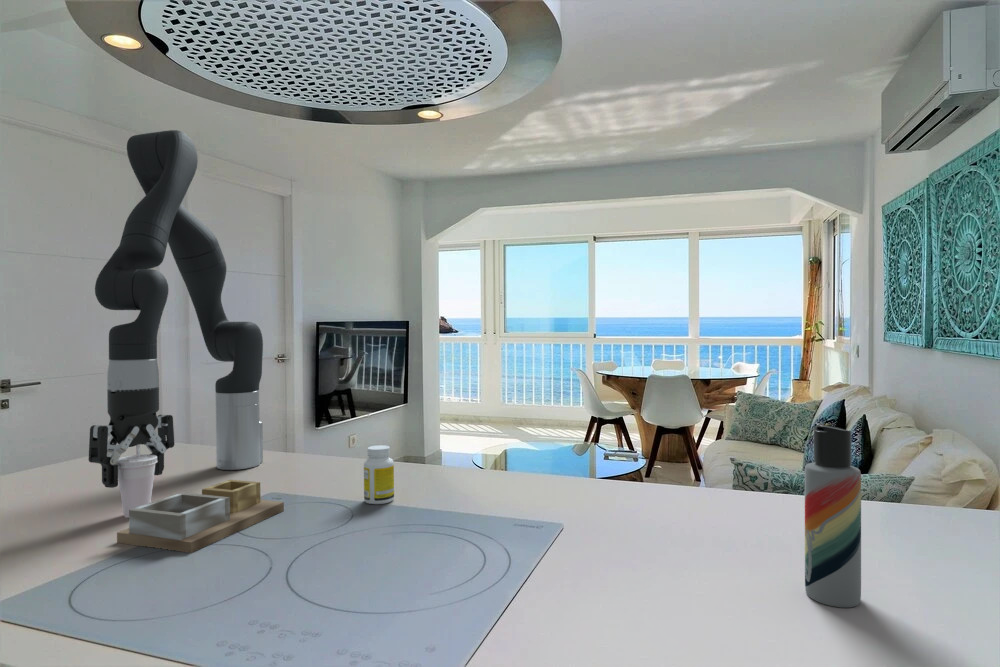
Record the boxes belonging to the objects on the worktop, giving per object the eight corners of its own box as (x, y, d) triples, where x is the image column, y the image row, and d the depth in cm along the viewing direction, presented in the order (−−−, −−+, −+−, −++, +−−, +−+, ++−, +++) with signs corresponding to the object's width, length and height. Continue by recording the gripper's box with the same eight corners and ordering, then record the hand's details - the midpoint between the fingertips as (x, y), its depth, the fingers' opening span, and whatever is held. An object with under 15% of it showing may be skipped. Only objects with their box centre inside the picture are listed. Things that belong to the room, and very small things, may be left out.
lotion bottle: (794, 587, 71) (794, 421, 71) (839, 585, 72) (839, 420, 72) (824, 609, 66) (824, 430, 65) (873, 607, 66) (872, 428, 66)
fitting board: (219, 503, 107) (218, 476, 107) (283, 510, 103) (283, 481, 103) (117, 542, 88) (116, 509, 88) (191, 552, 84) (190, 517, 84)
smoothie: (166, 509, 104) (165, 429, 104) (141, 521, 98) (139, 436, 98) (132, 508, 105) (131, 429, 105) (105, 520, 98) (103, 436, 98)
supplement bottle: (399, 497, 110) (399, 445, 110) (384, 506, 105) (384, 451, 105) (374, 495, 112) (373, 443, 112) (358, 503, 107) (357, 449, 107)
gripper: (153, 382, 109) (153, 469, 109) (76, 389, 95) (77, 489, 96) (184, 382, 107) (185, 472, 107) (110, 390, 93) (111, 493, 93)
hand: (134, 480), depth 101 cm, fingers open, 8 cm apart
